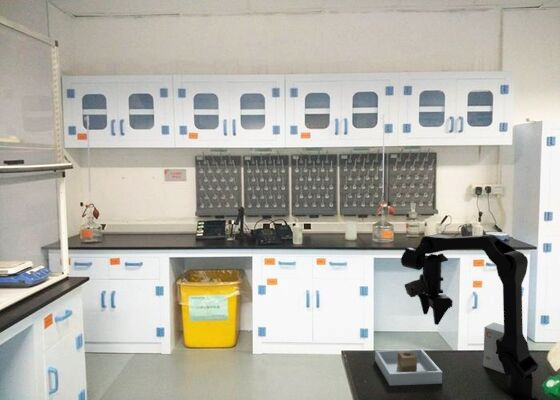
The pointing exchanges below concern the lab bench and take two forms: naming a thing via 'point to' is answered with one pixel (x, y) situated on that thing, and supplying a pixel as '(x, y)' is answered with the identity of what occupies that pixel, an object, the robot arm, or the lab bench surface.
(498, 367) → the small box
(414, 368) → the walnut block
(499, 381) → the lab bench surface
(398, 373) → the sorting tray
